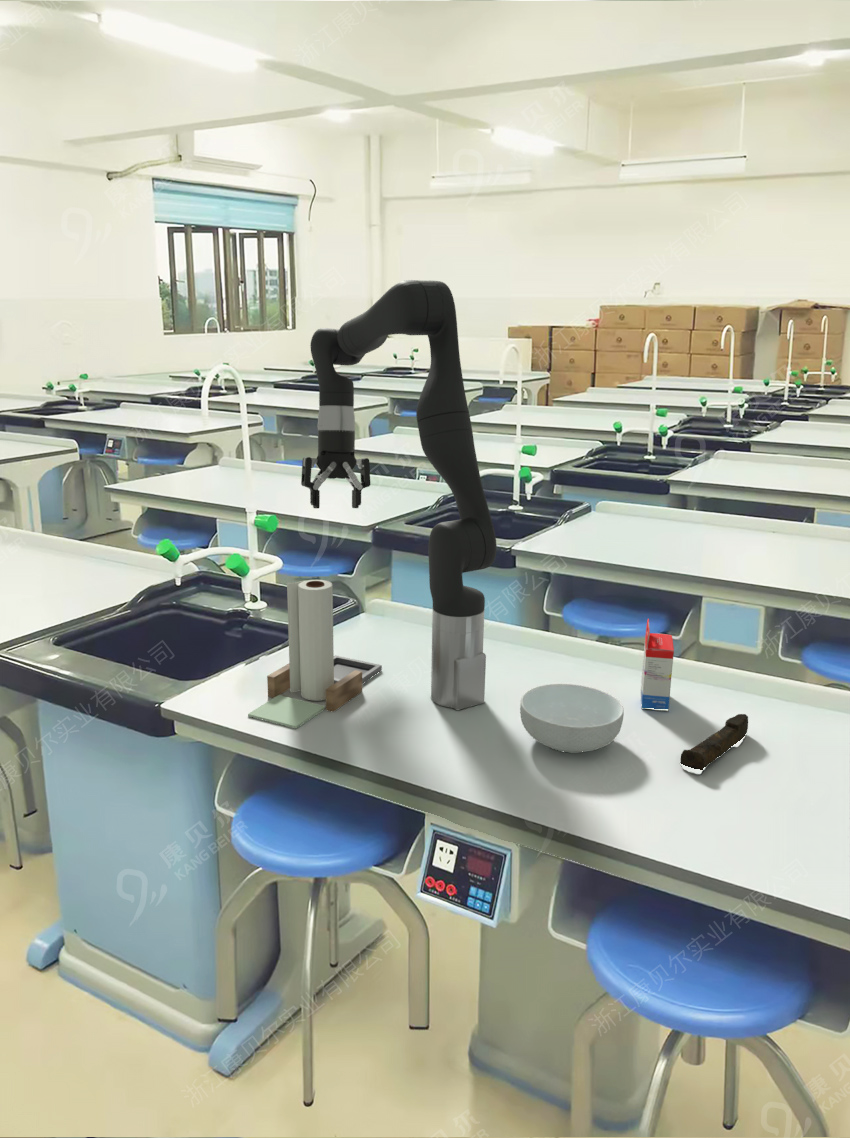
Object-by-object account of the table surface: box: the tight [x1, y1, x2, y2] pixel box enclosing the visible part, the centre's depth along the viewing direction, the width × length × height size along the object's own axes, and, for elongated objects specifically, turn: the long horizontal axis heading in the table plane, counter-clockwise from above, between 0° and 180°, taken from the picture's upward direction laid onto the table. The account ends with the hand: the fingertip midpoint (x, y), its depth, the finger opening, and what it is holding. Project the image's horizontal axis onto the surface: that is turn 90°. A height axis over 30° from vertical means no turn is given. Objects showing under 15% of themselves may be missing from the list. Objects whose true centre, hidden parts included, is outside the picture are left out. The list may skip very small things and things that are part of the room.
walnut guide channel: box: [266, 663, 363, 713], centre depth 169 cm, size 10×14×4 cm
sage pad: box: [247, 694, 326, 729], centre depth 162 cm, size 9×10×1 cm
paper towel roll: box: [286, 579, 335, 702], centre depth 166 cm, size 7×6×21 cm
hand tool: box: [679, 713, 749, 770], centre depth 149 cm, size 19×4×5 cm, turn 133°
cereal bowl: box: [519, 683, 625, 753], centre depth 151 cm, size 17×17×7 cm
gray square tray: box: [334, 655, 383, 685], centre depth 178 cm, size 11×11×1 cm
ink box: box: [640, 618, 675, 710], centre depth 166 cm, size 8×5×15 cm, turn 168°
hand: (336, 508), depth 191 cm, fingers open, 8 cm apart
